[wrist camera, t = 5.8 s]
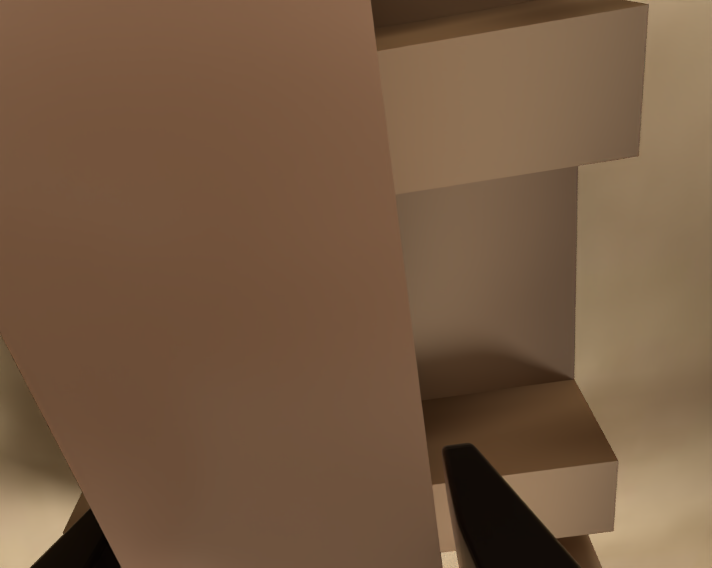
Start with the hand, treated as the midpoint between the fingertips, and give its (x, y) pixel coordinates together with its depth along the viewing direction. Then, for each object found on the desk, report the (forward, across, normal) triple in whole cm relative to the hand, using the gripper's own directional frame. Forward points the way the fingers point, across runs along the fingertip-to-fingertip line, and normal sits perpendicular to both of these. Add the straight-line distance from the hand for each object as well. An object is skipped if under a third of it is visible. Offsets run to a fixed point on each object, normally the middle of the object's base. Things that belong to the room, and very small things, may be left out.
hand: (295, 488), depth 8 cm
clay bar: (+2, 0, 0) cm, 2 cm away
